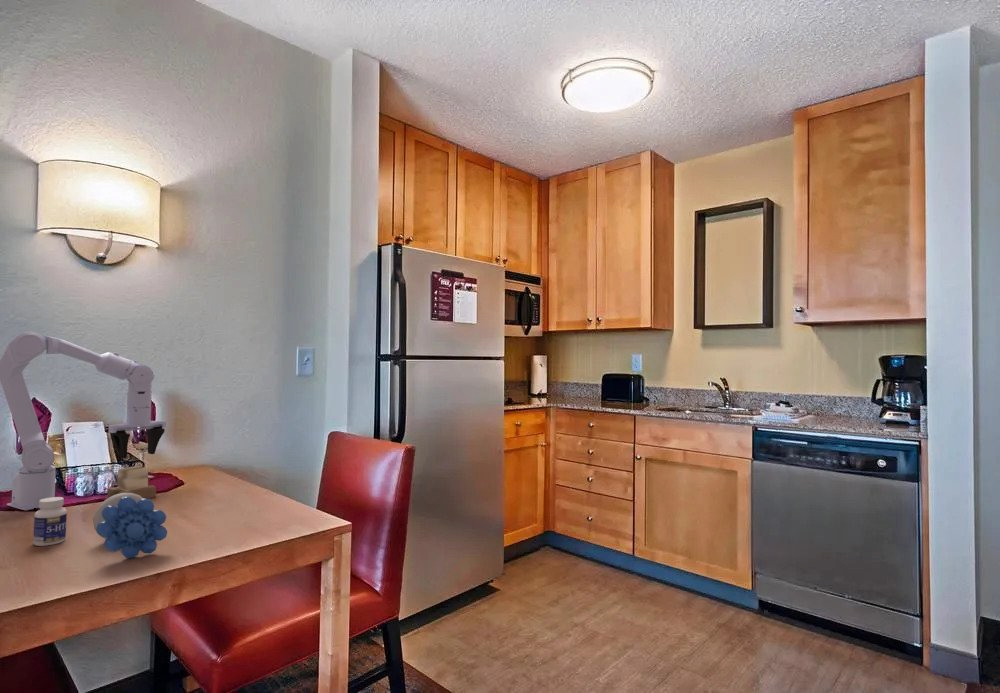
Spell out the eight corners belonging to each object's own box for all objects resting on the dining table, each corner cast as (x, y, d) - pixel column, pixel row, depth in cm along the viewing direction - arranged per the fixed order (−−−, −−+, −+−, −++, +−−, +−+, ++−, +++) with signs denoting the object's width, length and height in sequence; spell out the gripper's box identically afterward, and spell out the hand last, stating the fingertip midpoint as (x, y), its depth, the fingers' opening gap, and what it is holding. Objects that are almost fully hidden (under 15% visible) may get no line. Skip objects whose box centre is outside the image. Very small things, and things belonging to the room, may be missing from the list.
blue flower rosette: (96, 571, 101) (98, 505, 101) (94, 560, 106) (96, 497, 106) (170, 558, 108) (172, 496, 108) (164, 548, 113) (166, 489, 113)
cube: (117, 487, 149) (118, 469, 149) (137, 484, 153) (137, 466, 153) (128, 490, 146) (128, 471, 146) (147, 486, 151) (148, 468, 151)
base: (107, 499, 148) (107, 488, 148) (138, 493, 155) (138, 482, 155) (124, 504, 144) (125, 492, 144) (155, 497, 152) (156, 486, 152)
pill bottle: (47, 547, 112) (48, 503, 112) (26, 545, 113) (27, 501, 113) (72, 539, 117) (73, 497, 118) (52, 537, 118) (53, 495, 119)
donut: (94, 547, 113) (95, 498, 113) (90, 543, 115) (92, 495, 115) (150, 537, 120) (152, 490, 120) (146, 533, 122) (148, 487, 122)
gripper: (119, 410, 148) (118, 461, 148) (173, 406, 161) (171, 453, 160) (104, 408, 151) (103, 458, 151) (158, 404, 164) (156, 451, 164)
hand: (137, 455), depth 156 cm, fingers open, 7 cm apart
